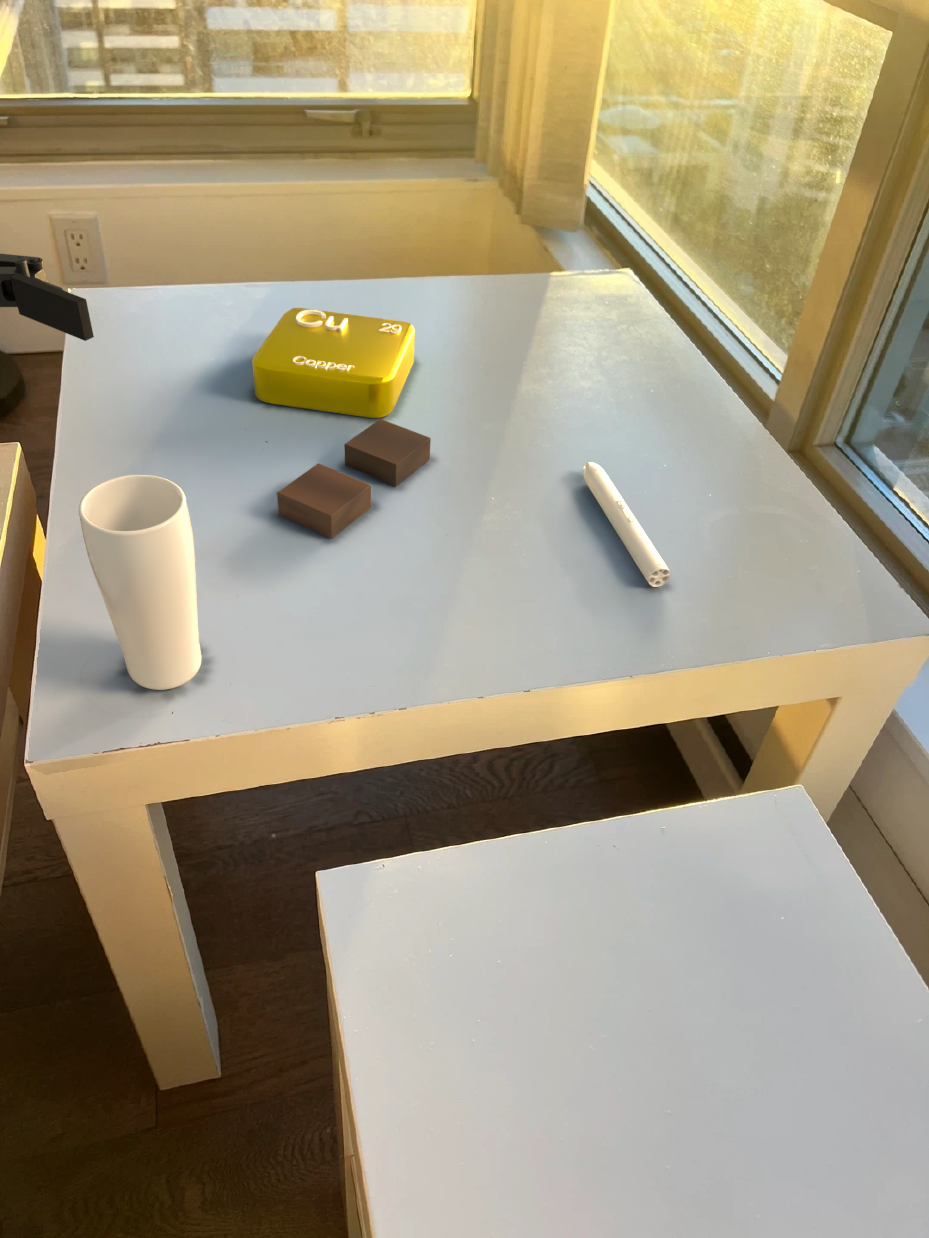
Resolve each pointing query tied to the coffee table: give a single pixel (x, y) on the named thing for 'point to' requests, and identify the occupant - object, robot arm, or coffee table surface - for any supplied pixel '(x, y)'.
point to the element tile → (334, 362)
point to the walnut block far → (387, 452)
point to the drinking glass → (146, 575)
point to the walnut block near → (324, 500)
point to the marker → (626, 526)
